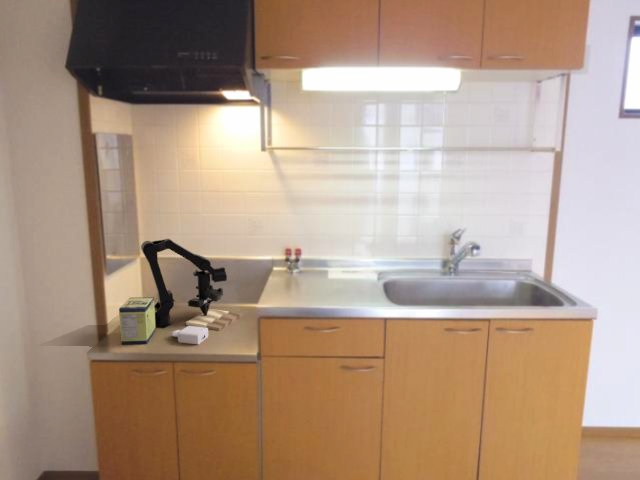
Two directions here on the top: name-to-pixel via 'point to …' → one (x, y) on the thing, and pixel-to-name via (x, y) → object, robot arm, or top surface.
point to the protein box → (137, 320)
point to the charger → (191, 335)
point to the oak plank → (206, 318)
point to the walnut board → (224, 321)
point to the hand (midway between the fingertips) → (205, 315)
